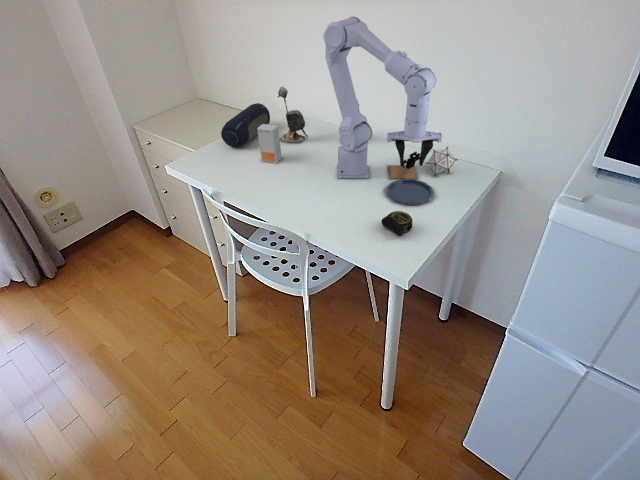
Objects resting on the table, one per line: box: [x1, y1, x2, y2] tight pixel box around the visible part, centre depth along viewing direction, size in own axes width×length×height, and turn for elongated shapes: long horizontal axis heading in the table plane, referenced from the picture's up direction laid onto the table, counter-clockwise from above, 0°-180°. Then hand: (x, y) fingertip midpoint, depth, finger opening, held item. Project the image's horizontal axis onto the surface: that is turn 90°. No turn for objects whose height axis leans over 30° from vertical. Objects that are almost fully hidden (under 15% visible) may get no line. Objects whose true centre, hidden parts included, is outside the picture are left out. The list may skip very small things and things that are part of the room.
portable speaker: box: [220, 102, 271, 148], centre depth 152 cm, size 25×10×10 cm, turn 159°
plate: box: [386, 179, 434, 207], centre depth 118 cm, size 13×13×1 cm
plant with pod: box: [277, 86, 309, 143], centre depth 145 cm, size 8×11×20 cm
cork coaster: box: [388, 164, 418, 180], centre depth 128 cm, size 8×8×1 cm
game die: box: [424, 146, 459, 177], centre depth 125 cm, size 9×8×10 cm
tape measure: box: [381, 210, 413, 238], centre depth 104 cm, size 7×7×4 cm
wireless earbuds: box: [403, 151, 421, 169], centre depth 114 cm, size 7×2×5 cm, turn 129°
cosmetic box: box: [257, 123, 282, 164], centre depth 135 cm, size 6×4×12 cm
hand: (410, 164), depth 115 cm, fingers closed on wireless earbuds, 5 cm apart
